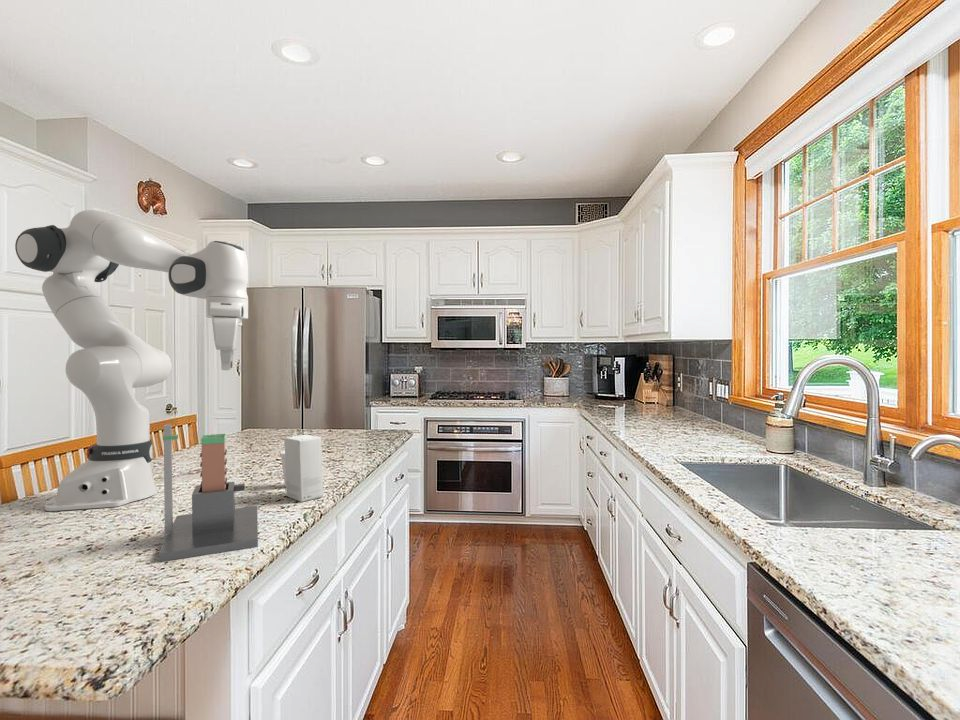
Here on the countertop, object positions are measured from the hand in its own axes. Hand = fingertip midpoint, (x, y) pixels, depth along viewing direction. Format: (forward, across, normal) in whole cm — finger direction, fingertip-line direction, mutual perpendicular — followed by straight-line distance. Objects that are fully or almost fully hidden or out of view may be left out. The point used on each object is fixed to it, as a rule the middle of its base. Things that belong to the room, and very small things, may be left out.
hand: (227, 369), depth 114 cm
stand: (+33, +17, -1) cm, 37 cm away
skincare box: (+33, -2, +18) cm, 38 cm away
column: (+26, +17, -1) cm, 30 cm away
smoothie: (+34, -14, +16) cm, 40 cm away
